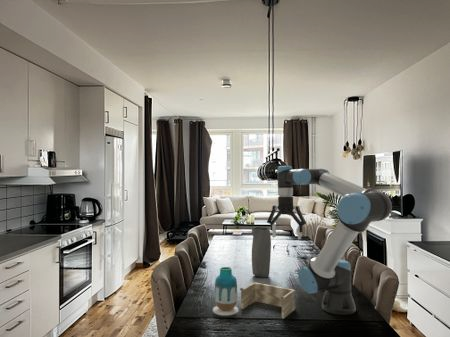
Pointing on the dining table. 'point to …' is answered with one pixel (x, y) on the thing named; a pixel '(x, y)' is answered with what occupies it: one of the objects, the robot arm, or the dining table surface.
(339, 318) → the dining table surface
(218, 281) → the vase
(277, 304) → the light wood u-shaped piece
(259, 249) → the vase
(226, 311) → the disc
